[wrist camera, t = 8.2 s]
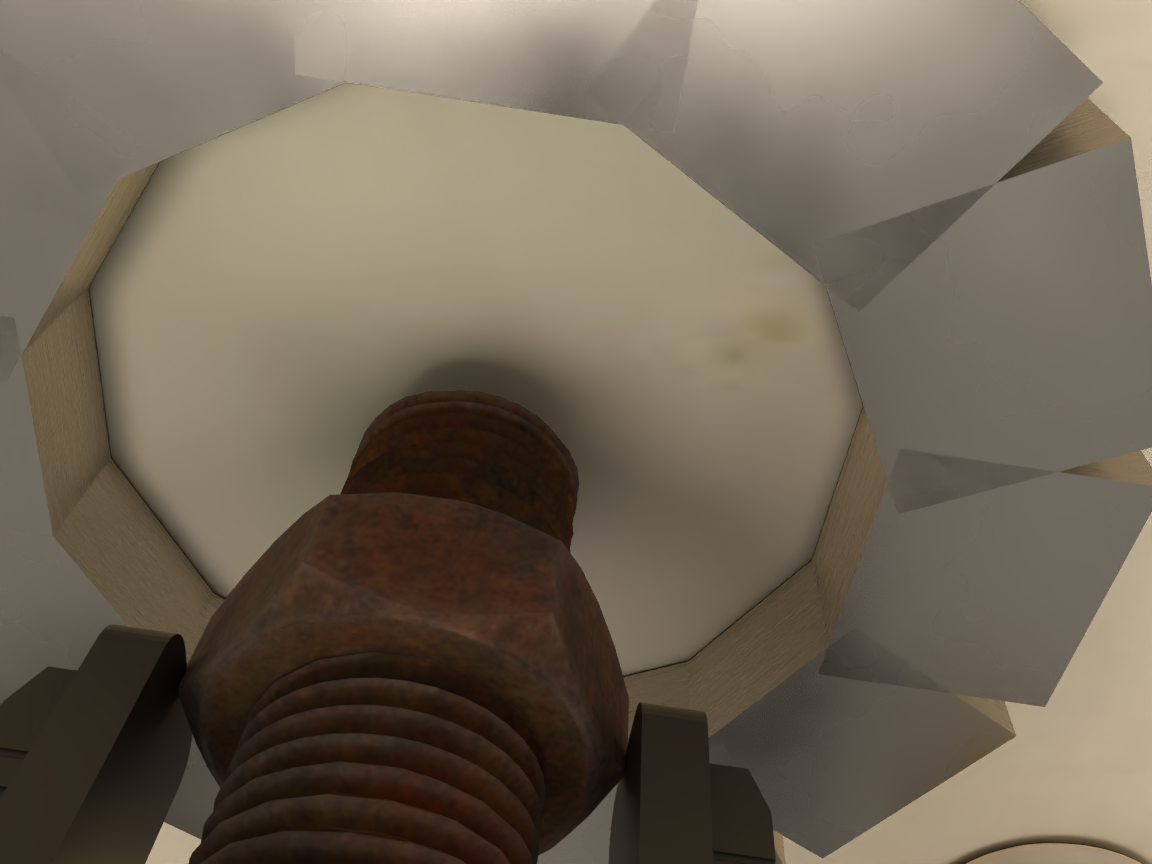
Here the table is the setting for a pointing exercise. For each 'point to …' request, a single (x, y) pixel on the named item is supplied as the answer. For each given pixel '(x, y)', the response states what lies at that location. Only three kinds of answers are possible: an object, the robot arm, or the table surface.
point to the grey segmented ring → (773, 208)
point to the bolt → (414, 659)
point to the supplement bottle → (1053, 855)
